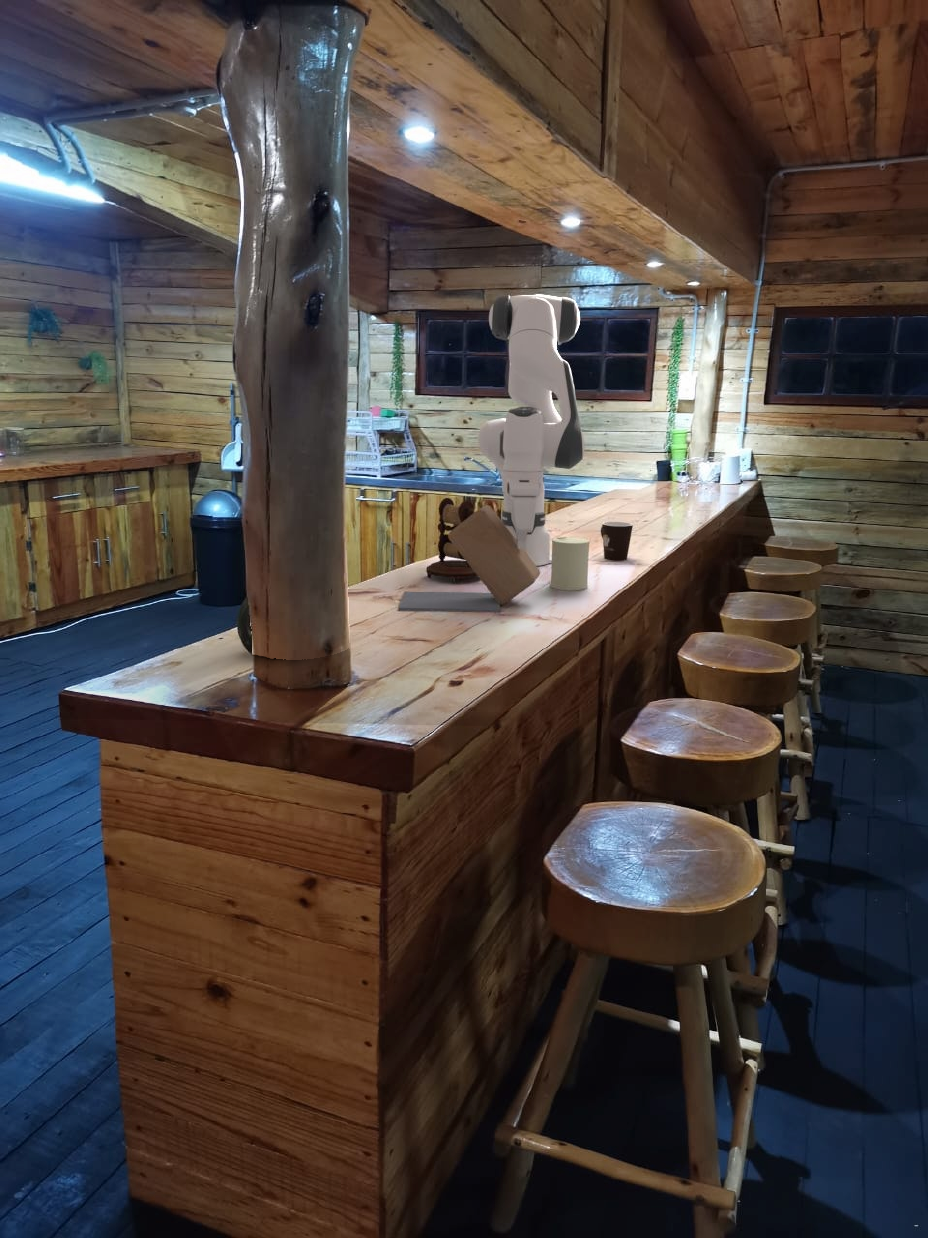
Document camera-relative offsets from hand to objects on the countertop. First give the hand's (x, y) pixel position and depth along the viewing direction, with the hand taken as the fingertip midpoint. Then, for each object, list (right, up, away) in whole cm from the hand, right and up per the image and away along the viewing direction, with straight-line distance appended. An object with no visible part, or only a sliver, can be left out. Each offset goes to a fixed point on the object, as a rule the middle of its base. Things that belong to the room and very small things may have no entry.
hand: (520, 547), depth 197 cm
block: (+1, -9, +3) cm, 10 cm away
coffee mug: (+31, +2, +60) cm, 67 cm away
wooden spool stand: (-15, -6, +30) cm, 34 cm away
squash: (-46, -22, -35) cm, 62 cm away
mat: (-16, -12, +4) cm, 20 cm away
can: (+13, -8, +22) cm, 27 cm away
